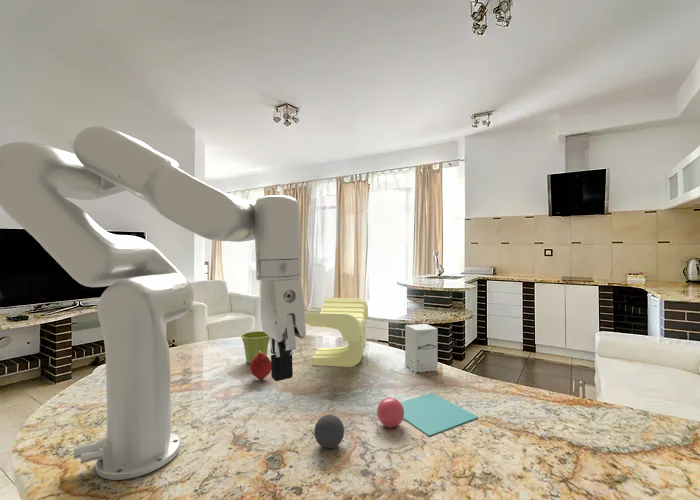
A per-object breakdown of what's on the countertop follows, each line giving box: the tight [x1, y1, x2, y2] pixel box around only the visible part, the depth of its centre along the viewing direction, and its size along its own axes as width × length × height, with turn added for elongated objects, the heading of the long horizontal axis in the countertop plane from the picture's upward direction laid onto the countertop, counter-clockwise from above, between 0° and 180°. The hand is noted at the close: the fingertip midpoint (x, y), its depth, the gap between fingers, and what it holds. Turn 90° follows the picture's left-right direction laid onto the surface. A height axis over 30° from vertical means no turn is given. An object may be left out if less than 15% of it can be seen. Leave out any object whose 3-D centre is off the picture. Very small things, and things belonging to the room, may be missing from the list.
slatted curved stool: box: [305, 297, 369, 368], centre depth 112 cm, size 30×16×18 cm, turn 172°
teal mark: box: [399, 392, 479, 437], centre depth 76 cm, size 14×14×1 cm
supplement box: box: [404, 323, 439, 374], centre depth 103 cm, size 7×7×13 cm
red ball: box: [376, 397, 404, 428], centre depth 70 cm, size 6×6×6 cm
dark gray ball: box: [313, 414, 345, 449], centre depth 63 cm, size 6×6×6 cm
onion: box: [249, 351, 271, 381], centre depth 95 cm, size 6×6×8 cm
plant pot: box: [240, 330, 270, 364], centre depth 110 cm, size 9×9×9 cm
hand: (282, 377), depth 58 cm, fingers closed
